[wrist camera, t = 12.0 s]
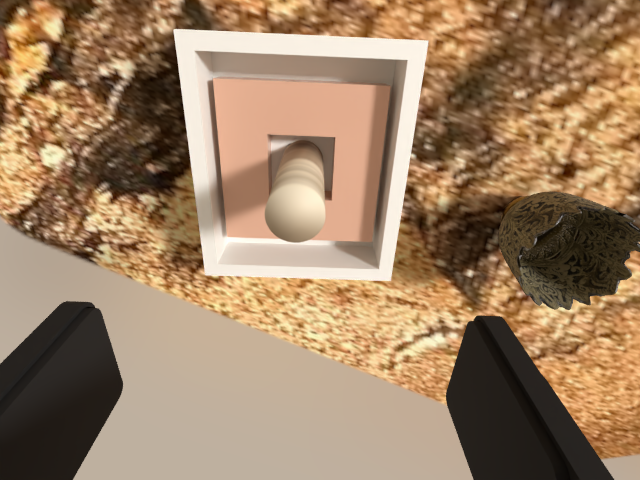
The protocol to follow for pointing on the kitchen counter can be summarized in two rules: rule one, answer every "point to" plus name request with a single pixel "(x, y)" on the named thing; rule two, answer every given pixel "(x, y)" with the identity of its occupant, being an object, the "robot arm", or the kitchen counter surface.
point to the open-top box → (301, 64)
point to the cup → (566, 247)
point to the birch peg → (297, 194)
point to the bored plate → (301, 120)
